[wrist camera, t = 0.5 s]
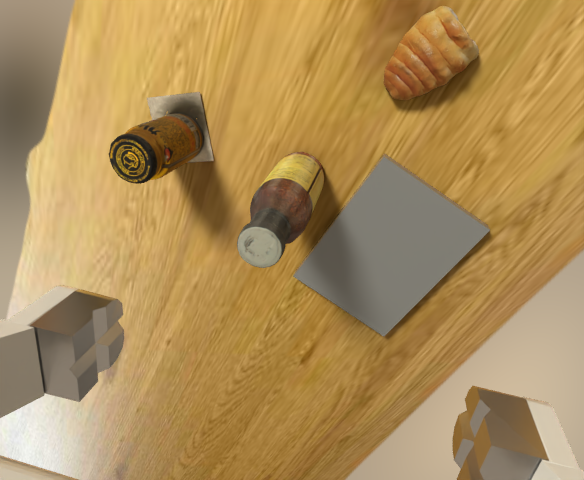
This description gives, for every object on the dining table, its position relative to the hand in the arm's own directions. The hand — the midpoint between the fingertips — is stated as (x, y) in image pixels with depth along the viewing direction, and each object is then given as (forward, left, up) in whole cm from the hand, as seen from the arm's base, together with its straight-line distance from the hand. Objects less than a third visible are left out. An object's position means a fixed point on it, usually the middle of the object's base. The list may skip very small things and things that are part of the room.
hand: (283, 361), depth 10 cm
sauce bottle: (+12, -2, -44) cm, 46 cm away
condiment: (+16, -18, -44) cm, 50 cm away
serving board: (+14, +12, -44) cm, 47 cm away
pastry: (-7, +2, -44) cm, 45 cm away
